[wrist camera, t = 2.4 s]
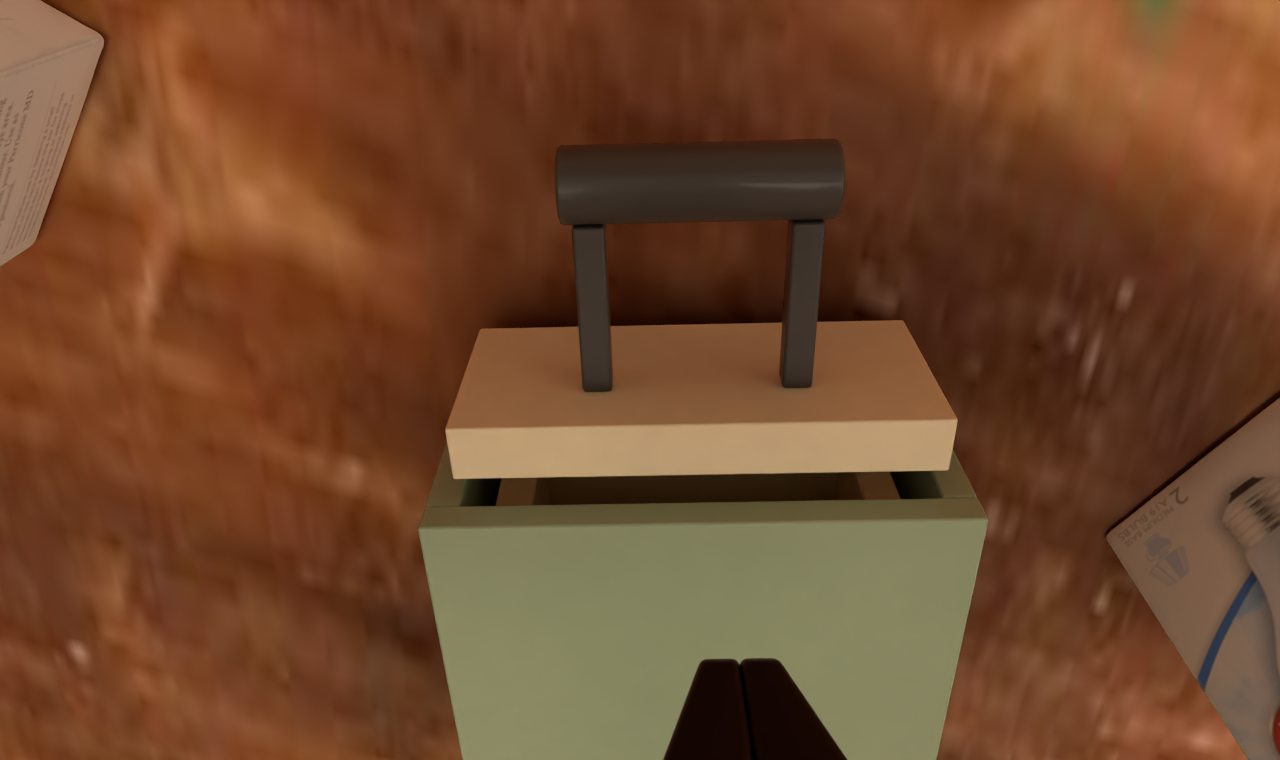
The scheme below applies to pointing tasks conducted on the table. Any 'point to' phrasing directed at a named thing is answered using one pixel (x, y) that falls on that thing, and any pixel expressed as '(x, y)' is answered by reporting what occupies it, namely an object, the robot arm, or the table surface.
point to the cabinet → (697, 612)
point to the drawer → (698, 357)
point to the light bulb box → (1220, 576)
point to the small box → (37, 110)
